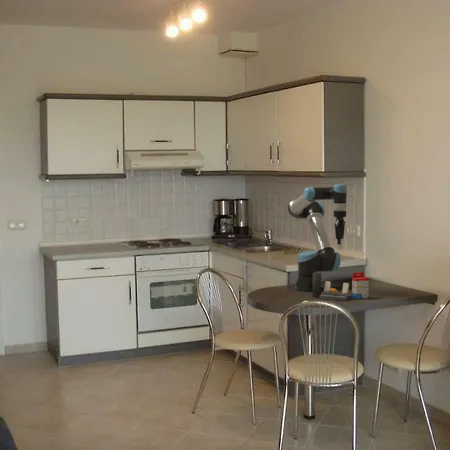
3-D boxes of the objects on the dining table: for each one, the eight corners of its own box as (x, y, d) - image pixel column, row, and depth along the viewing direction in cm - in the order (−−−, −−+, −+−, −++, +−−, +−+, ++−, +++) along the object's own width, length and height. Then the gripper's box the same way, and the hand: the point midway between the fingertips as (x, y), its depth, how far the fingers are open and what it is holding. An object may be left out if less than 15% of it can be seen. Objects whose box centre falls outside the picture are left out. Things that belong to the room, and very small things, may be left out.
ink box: (356, 299, 410) (357, 274, 409) (351, 297, 415) (351, 272, 413) (368, 297, 414) (369, 272, 413) (363, 296, 418) (363, 271, 417)
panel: (319, 298, 412) (319, 294, 411) (325, 295, 421) (325, 291, 421) (345, 301, 404) (345, 296, 404) (351, 298, 414) (352, 293, 413)
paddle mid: (333, 294, 413) (329, 290, 408) (333, 291, 414) (330, 287, 408) (338, 294, 412) (334, 290, 406) (338, 291, 412) (335, 288, 407)
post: (311, 297, 417) (311, 273, 416) (314, 295, 421) (314, 272, 420) (319, 297, 415) (319, 274, 413) (322, 296, 419) (322, 272, 418)
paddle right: (341, 294, 409) (343, 282, 411) (342, 294, 411) (344, 283, 413) (346, 294, 408) (348, 283, 410) (347, 295, 409) (349, 283, 411)
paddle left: (323, 292, 415) (325, 281, 417) (324, 293, 416) (326, 281, 418) (328, 292, 413) (330, 281, 415) (329, 293, 414) (331, 282, 416)
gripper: (342, 211, 416) (341, 251, 418) (349, 209, 427) (349, 248, 430) (330, 210, 420) (329, 250, 422) (337, 209, 431) (337, 248, 433)
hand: (339, 249), depth 426 cm, fingers closed
